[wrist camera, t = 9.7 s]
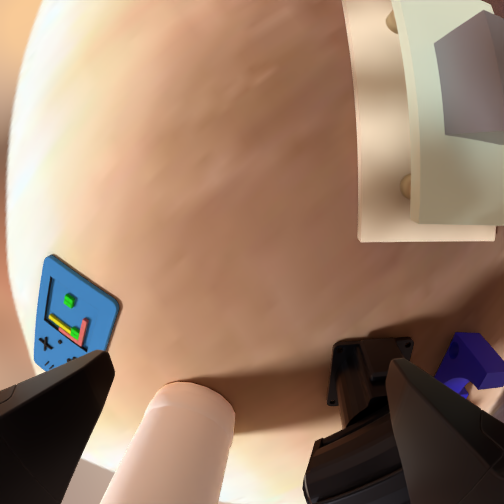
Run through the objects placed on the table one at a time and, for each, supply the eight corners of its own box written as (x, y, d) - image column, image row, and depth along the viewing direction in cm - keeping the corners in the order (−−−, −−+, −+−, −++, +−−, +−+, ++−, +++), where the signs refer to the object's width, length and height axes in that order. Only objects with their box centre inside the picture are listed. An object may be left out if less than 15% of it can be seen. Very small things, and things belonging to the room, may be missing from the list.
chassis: (487, 237, 18) (517, 253, 14) (357, 238, 19) (374, 257, 15) (470, 14, 13) (495, -3, 9) (338, -15, 14) (347, -44, 10)
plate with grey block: (481, 10, 10) (534, -22, 4) (502, 221, 14) (569, 251, 8) (386, -18, 10) (421, -75, 4) (409, 219, 14) (471, 255, 8)
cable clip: (437, 425, 24) (453, 466, 18) (403, 428, 24) (416, 472, 18) (489, 332, 20) (522, 369, 14) (454, 331, 20) (487, 373, 15)
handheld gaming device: (32, 363, 26) (42, 254, 21) (37, 358, 27) (50, 250, 22) (88, 405, 26) (116, 307, 22) (93, 399, 27) (123, 300, 23)
